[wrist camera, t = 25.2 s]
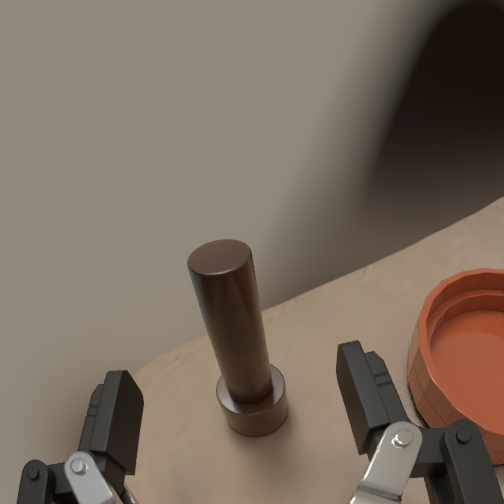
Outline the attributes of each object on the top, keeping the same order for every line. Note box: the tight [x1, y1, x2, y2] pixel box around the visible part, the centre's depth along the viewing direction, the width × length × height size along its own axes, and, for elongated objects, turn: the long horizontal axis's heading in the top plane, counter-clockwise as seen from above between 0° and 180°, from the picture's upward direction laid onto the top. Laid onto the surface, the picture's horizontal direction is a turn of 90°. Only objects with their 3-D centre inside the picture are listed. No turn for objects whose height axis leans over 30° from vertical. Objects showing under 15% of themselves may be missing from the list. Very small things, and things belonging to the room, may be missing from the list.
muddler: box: [187, 239, 288, 437], centre depth 16 cm, size 4×4×12 cm
